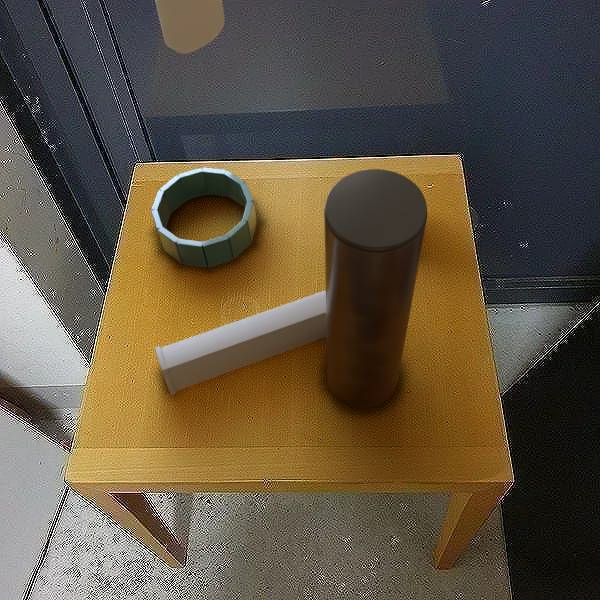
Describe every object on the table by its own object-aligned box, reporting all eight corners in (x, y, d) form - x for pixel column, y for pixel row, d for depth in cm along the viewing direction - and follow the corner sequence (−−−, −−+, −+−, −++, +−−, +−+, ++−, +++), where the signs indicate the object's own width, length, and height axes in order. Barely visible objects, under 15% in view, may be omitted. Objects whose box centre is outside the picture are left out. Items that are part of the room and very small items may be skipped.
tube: (356, 268, 82) (152, 339, 77) (375, 294, 78) (161, 370, 73) (360, 302, 85) (165, 372, 81) (378, 328, 81) (174, 403, 77)
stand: (321, 402, 77) (315, 241, 52) (333, 340, 81) (332, 162, 56) (393, 413, 76) (423, 255, 50) (401, 350, 80) (432, 173, 55)
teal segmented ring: (148, 259, 88) (139, 238, 85) (175, 185, 95) (168, 163, 91) (243, 272, 87) (239, 251, 83) (264, 196, 93) (261, 173, 89)
